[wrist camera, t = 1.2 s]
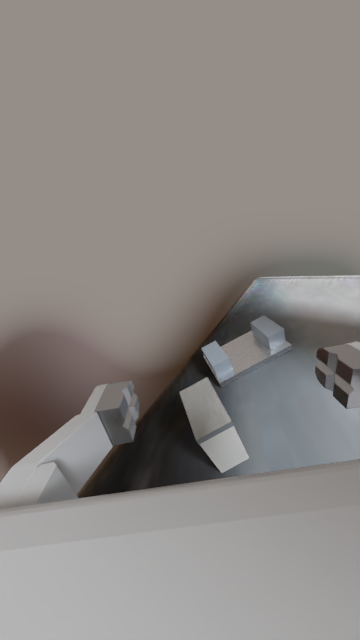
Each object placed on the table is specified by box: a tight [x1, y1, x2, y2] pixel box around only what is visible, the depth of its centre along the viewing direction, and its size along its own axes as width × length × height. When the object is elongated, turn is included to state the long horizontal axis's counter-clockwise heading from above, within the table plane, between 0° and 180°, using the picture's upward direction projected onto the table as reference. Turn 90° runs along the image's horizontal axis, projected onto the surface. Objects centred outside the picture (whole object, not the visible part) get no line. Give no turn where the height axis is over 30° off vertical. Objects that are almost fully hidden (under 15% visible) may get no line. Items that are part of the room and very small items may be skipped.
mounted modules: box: [201, 315, 286, 378], centre depth 40 cm, size 16×6×4 cm, turn 107°
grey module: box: [179, 377, 249, 473], centre depth 28 cm, size 5×7×11 cm, turn 18°
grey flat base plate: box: [203, 330, 292, 388], centre depth 42 cm, size 16×8×2 cm, turn 107°
